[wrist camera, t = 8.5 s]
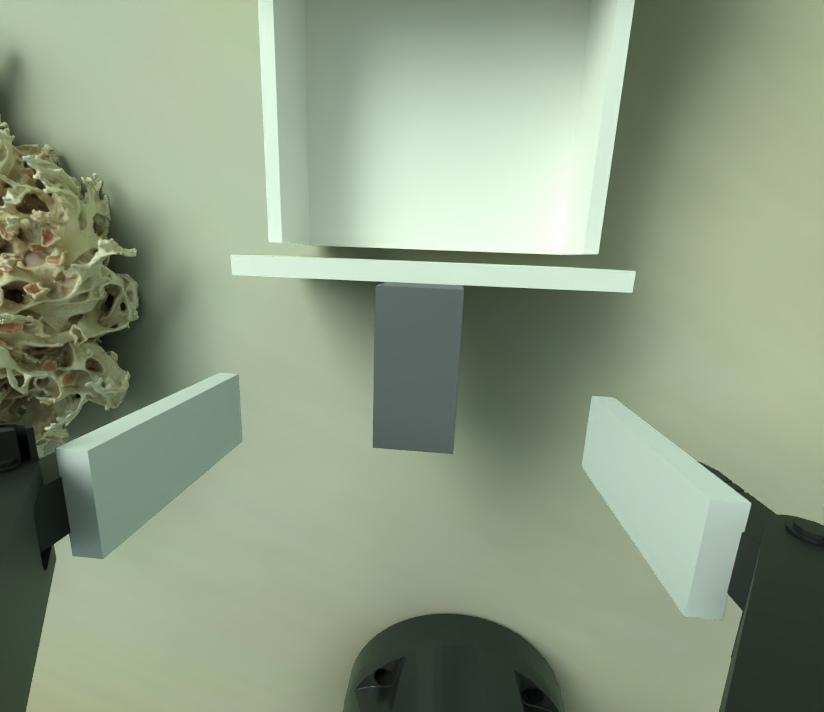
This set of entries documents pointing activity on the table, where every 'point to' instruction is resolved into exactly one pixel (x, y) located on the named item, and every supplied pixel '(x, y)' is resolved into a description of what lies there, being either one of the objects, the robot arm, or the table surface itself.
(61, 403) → the dried lichen
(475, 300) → the table surface
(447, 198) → the tray
